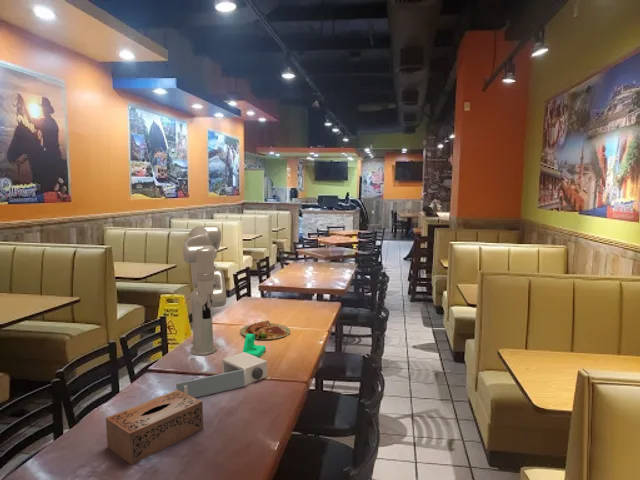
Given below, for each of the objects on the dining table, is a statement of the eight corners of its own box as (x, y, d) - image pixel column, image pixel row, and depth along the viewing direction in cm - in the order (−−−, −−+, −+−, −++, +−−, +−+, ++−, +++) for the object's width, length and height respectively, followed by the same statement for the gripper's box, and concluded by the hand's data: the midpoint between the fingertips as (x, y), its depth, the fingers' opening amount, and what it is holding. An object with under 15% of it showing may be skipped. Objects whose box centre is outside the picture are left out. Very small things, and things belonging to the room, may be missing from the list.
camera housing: (222, 374, 199) (222, 359, 198) (244, 366, 207) (244, 351, 207) (247, 386, 187) (247, 370, 186) (269, 377, 195) (269, 362, 195)
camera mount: (257, 359, 216) (257, 338, 215) (242, 358, 218) (242, 337, 217) (266, 351, 228) (266, 331, 227) (252, 349, 230) (251, 330, 228)
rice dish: (299, 332, 260) (300, 323, 260) (269, 344, 237) (269, 334, 236) (262, 324, 275) (262, 316, 275) (229, 335, 252) (230, 325, 251)
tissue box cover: (131, 465, 134) (129, 433, 133) (107, 448, 143) (105, 418, 142) (203, 429, 154) (202, 401, 153) (178, 416, 163) (177, 389, 162)
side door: (178, 402, 172) (177, 385, 171) (176, 400, 174) (176, 383, 173) (247, 386, 186) (246, 370, 185) (245, 384, 188) (245, 368, 187)
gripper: (192, 274, 199) (193, 315, 201) (200, 280, 186) (202, 324, 188) (209, 273, 203) (210, 313, 205) (218, 279, 190) (220, 321, 192)
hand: (206, 318), depth 196 cm, fingers closed
